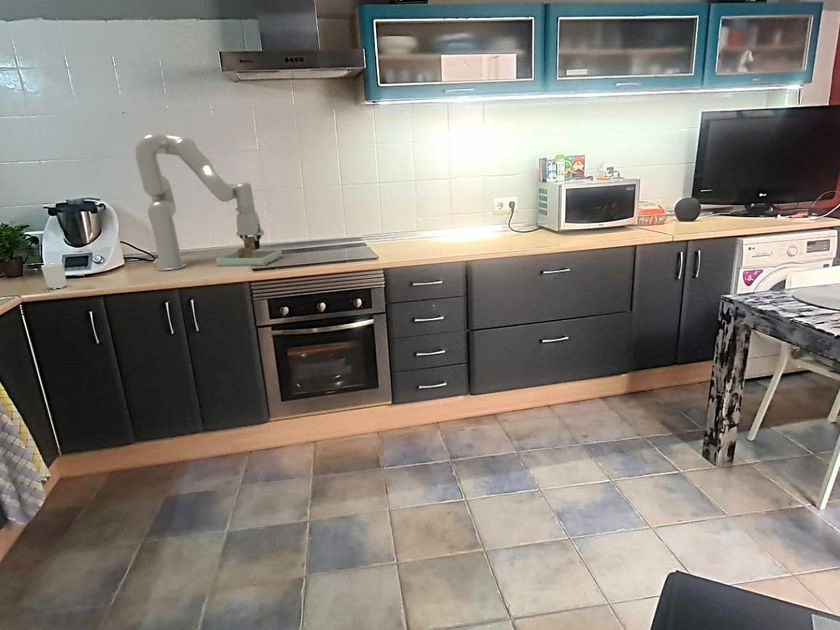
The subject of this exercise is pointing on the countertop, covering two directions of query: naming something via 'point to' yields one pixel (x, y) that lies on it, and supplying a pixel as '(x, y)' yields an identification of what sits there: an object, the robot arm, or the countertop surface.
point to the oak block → (250, 243)
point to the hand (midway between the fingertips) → (252, 248)
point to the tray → (258, 258)
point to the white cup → (54, 274)
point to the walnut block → (245, 253)
